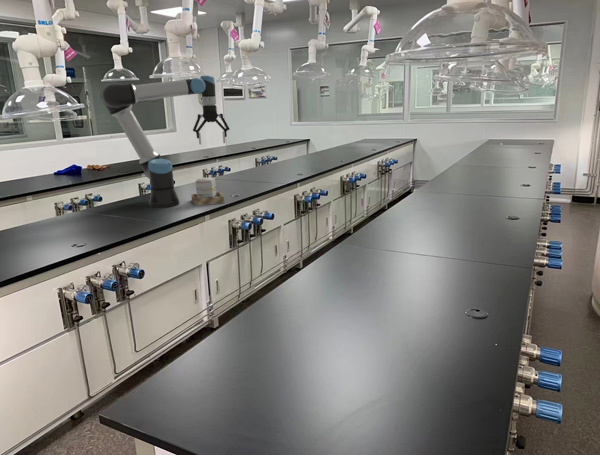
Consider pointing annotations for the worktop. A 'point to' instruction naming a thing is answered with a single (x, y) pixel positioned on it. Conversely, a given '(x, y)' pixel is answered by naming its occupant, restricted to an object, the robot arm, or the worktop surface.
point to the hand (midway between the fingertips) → (212, 143)
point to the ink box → (206, 187)
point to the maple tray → (208, 199)
